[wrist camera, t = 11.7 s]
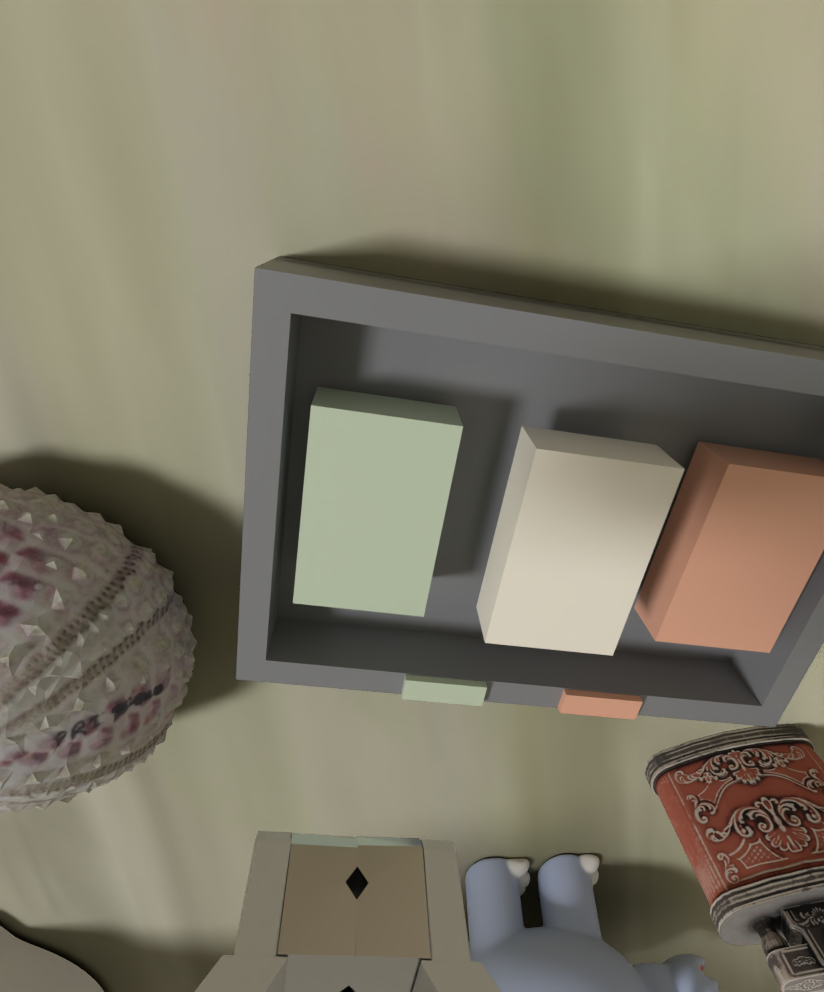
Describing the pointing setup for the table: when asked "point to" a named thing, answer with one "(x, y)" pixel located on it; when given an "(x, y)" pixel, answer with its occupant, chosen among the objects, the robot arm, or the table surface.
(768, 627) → the terracotta key
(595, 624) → the cream key
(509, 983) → the hippopotamus toy
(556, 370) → the grey tray
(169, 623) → the sea urchin shell
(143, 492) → the table surface
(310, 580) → the sage key
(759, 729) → the lighter
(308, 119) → the table surface
